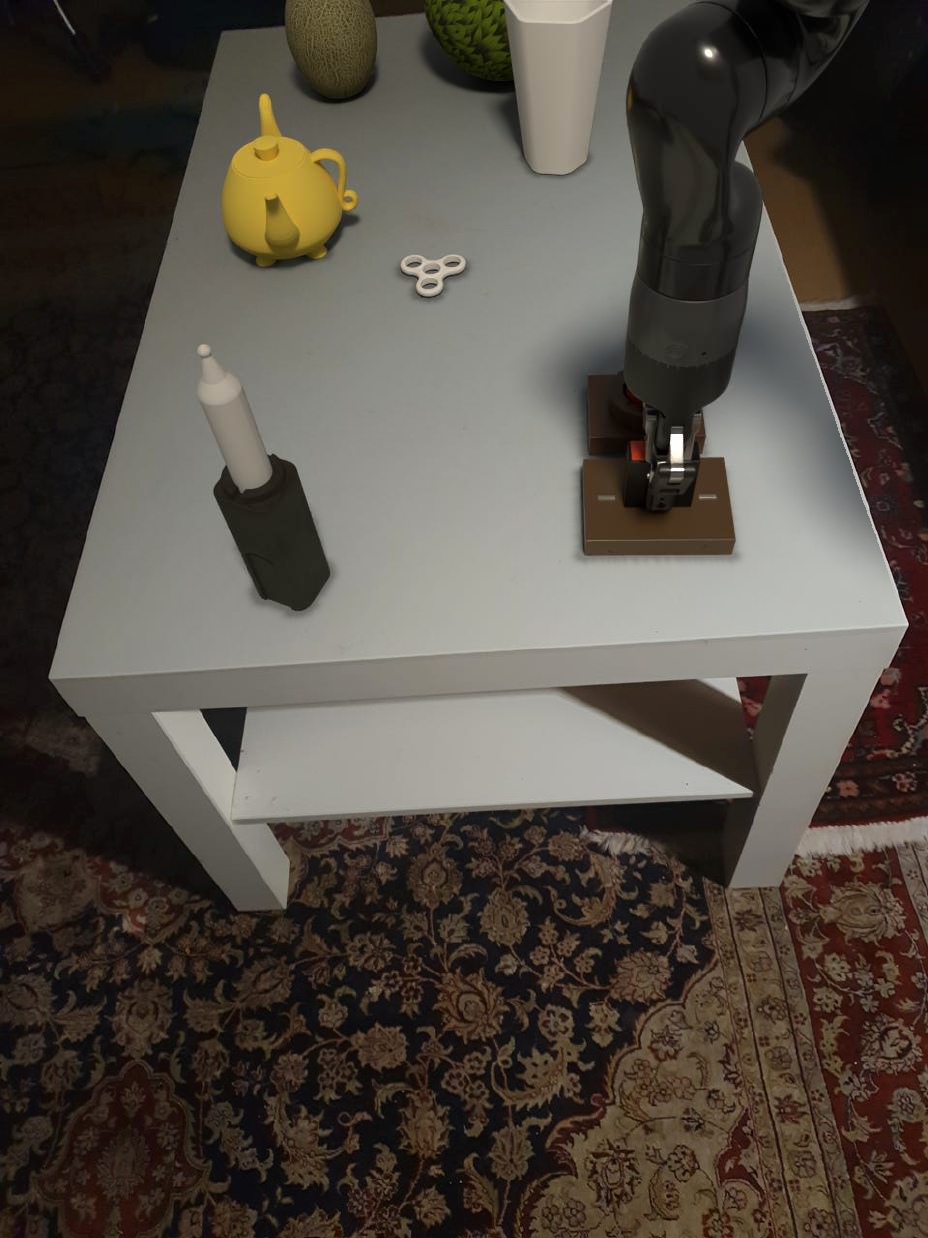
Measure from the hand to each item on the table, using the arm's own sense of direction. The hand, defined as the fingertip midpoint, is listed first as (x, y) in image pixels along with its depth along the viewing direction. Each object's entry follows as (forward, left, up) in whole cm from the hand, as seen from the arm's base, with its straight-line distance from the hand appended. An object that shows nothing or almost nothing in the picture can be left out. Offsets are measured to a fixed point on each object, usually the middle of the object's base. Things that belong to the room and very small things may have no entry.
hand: (657, 492), depth 76 cm
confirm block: (+4, -10, -3) cm, 11 cm away
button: (+4, -10, +1) cm, 11 cm away
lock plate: (0, 0, -3) cm, 3 cm away
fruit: (+58, -55, -3) cm, 80 cm away
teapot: (+48, -25, -3) cm, 54 cm away
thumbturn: (0, 0, -1) cm, 1 cm away
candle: (+26, +17, -3) cm, 31 cm away
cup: (+26, -48, -3) cm, 55 cm away
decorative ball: (+39, -65, -3) cm, 76 cm away
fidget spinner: (+31, -23, -3) cm, 39 cm away
